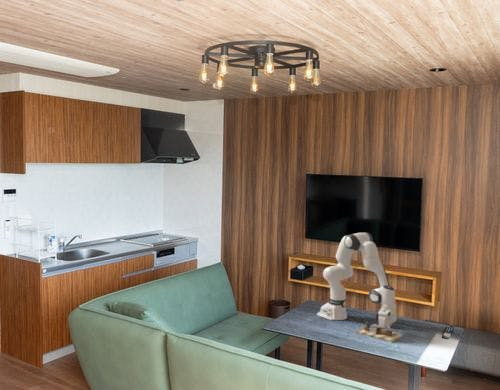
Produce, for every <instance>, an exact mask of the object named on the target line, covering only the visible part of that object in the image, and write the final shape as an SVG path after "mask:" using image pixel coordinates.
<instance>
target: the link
mask: <svg viewBox="0 0 500 390" xmlns="http://www.w3.org/2000/svg"><path fill="white" fill-rule="evenodd" d="M369 326H371V324H370V321H366V322H365V324H364V325H363V328H364V330H368V331H369ZM392 332H393V331H392V330H390V331H389V330H386V328H381V327H380V328H378V329H377V333H380V334H384V335H388V336H391V335H392Z"/></svg>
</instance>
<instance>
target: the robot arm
mask: <svg viewBox="0 0 500 390" xmlns="http://www.w3.org/2000/svg"><path fill="white" fill-rule="evenodd" d="M373 240H374V239H373V236H372V234H371V233H369V232H367V231H366V232H365V231H364V232H357V233H350V234H348V235H344V236H343V237H342V238H341V240H340V242H339V244H338V248H337V250H336V254H335V260H336V261H337V262H338V263H337V264H335V265H331V266H327V267H326V268H324V269H323V271H322V276H323V278H324V280H326V282H327V283H328V285H329V293H330V294H329V295H330V297H328V298H327V302H326V303H325V304H323V305H321V307H320V311H318V312H317V313H316V315H317V316H318V317H322V318H324V319H327V320H329V321H343V320H346V319H348V315H347V309H346V308H347V307H346V306H347V298H346V294H347V293H346V288H345V286H344V285H342V282H341V281H342V280H347V279H349V278H352V277H353V275H354V269H353V267H352V265H351V260H352V258H353V254H354V251H360V253H361V256H362V263H363V266H364V268H365V269H366V270H368V271H370V272H372V273H374V274H376V276H377V279H378V283H379V287H378V288H374V289H373V288H372V289H371V290H369V293H368V298H369V300H370V301H371V303H373V304H380V305H381V306H380V307H381V308H380V309H379V311H378V312H377V313H378V315H379V323H378V325H379V327H380V328H381V329H385V330H389V331H391V328H392V324H393V323H396V322H397V318H398V317H397V311H396V304H395V302H396V291H395V288H394V287H393V286H391V285H390V283H389V280H388V276H387V273H386V269H385V267H384V265H383V264H382V263H381V260H380V256H379V250H378V248H377V245H376V243H375V242H374V241H373ZM390 327H391V328H390Z"/></svg>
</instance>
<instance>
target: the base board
mask: <svg viewBox="0 0 500 390" xmlns="http://www.w3.org/2000/svg"><path fill="white" fill-rule="evenodd" d="M356 334H359V335H362V336H365V337H366V336H367V337H370V338H374V339H378V340H382V341H386V342H389V343H393V344H394V343H395V342H396V341H398V340H399V339H401V338H403V337H404V334H402V333H398V332H394V331H392V335H391V336H388V335H384V334H380V333H377V334H373V333H369V331H368V330H364V327H362V328H360V329H358V330H357V331H356Z"/></svg>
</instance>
